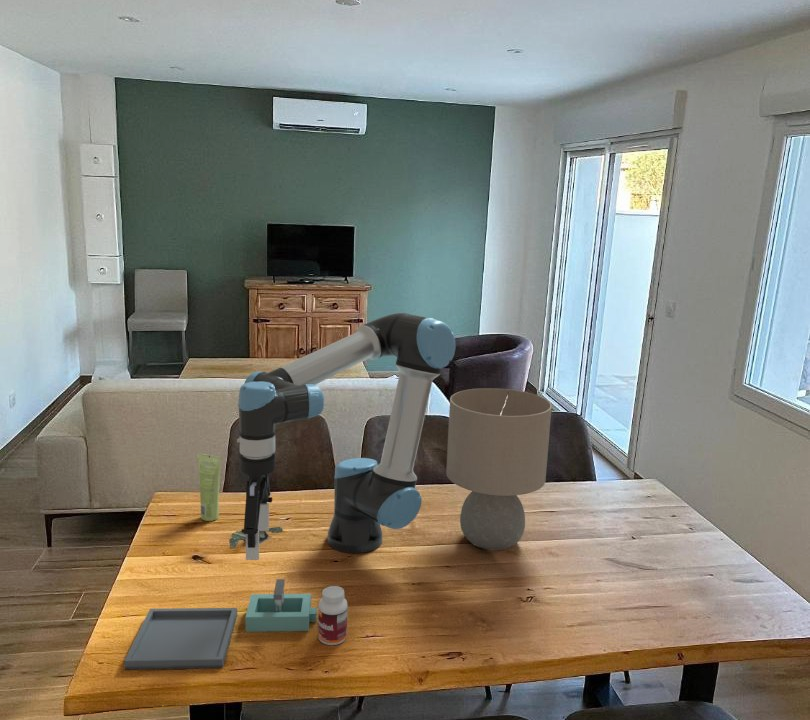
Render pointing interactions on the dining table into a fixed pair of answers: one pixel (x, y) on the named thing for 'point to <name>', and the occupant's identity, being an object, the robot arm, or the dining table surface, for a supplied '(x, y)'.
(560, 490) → the dining table surface
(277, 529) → the eiffel tower figurine
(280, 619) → the ring frame
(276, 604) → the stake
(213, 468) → the tube
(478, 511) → the lamp
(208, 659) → the tray
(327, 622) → the pill bottle
